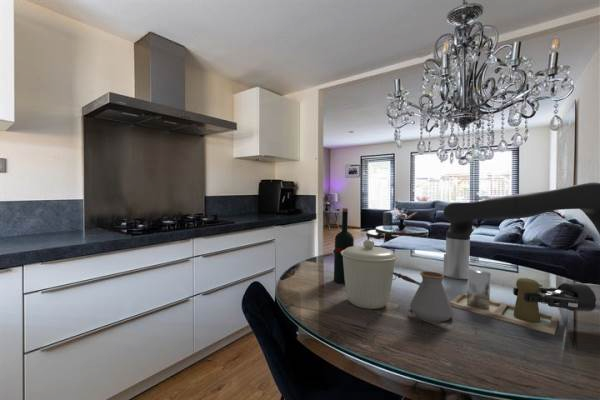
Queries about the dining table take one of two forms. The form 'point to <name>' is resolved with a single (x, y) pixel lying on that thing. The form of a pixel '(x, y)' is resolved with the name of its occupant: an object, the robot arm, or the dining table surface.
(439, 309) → the coffee pot
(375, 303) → the canister
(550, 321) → the wooden tray
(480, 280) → the clear glass tumbler
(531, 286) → the olive brown pepper mill
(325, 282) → the dining table surface
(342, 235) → the wine bottle
